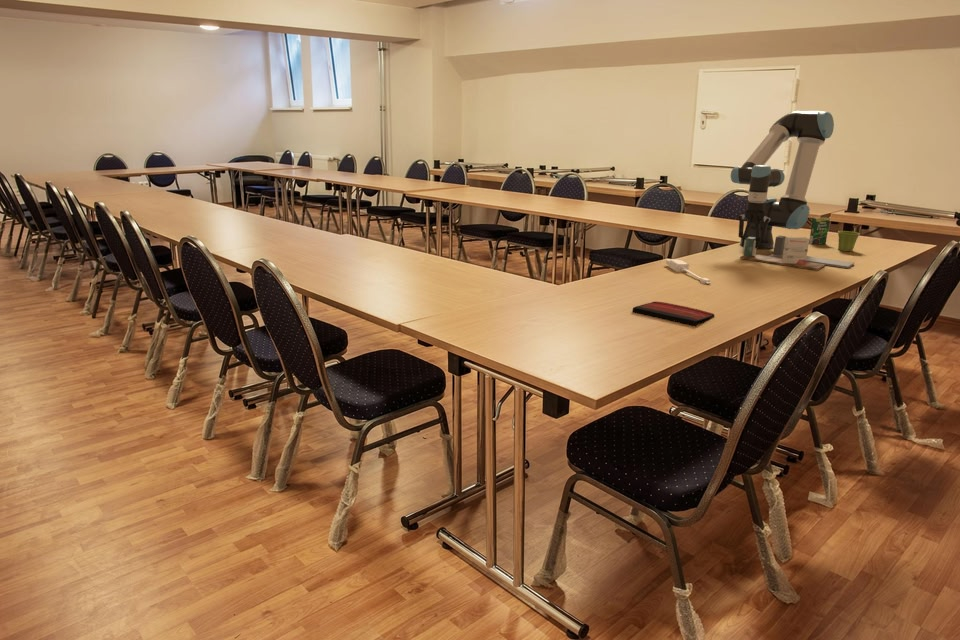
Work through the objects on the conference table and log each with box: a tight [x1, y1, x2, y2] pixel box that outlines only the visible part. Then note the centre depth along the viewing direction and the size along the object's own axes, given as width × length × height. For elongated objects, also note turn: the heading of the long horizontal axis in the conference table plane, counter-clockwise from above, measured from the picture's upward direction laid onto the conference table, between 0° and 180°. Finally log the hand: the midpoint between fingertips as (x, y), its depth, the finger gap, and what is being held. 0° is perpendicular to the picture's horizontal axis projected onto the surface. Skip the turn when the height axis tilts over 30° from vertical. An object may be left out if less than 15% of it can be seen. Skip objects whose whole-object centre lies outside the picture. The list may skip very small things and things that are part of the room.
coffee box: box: [808, 217, 831, 245], centre depth 332 cm, size 8×3×13 cm, turn 100°
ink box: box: [782, 235, 810, 264], centre depth 282 cm, size 9×5×12 cm, turn 80°
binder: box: [632, 301, 715, 328], centre depth 208 cm, size 16×2×21 cm
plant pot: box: [837, 230, 861, 252], centre depth 317 cm, size 9×9×9 cm
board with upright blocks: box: [739, 237, 826, 271], centre depth 286 cm, size 32×11×9 cm, turn 50°
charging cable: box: [665, 258, 712, 285], centre depth 261 cm, size 5×32×3 cm, turn 10°
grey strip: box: [769, 235, 855, 269], centre depth 291 cm, size 32×11×9 cm, turn 50°
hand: (749, 254), depth 295 cm, fingers open, 3 cm apart
